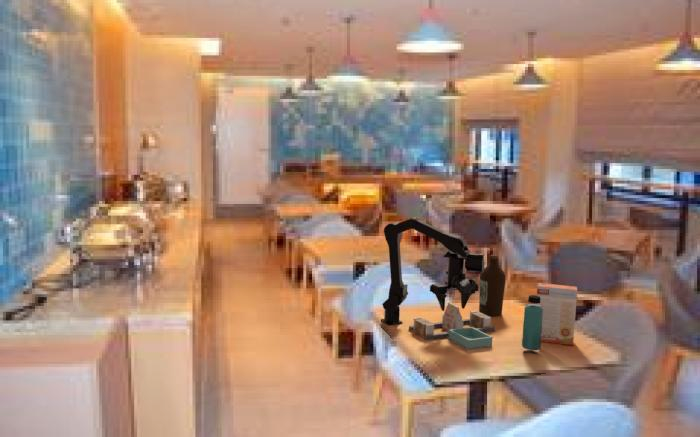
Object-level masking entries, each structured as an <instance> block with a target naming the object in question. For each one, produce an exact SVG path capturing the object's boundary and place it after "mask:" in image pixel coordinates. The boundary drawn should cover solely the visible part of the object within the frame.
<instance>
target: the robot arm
mask: <svg viewBox="0 0 700 437" xmlns="http://www.w3.org/2000/svg"><path fill="white" fill-rule="evenodd" d="M409 230H415V231H417V232H419V233H420V234H422V235H425V236H427V237H429V238H431V239H433V240H434V241H437V242H439V243H440V244H441V245H442V246H444V247H445V249H447V251H446V253H444V255H443V258H447V259H448V264H447V270H446V271H445V274H446V275H447V278H446V279H447V281H446V280H445V281H444V284H441V283H431V285H430V286H429V292H431V293H432V294H434V295H435V297H436V299H437V301H438V304H439V306H440V309H441V311H442V312H445V310H446V309H445V308H446V298H447V296H448V294H447V293H448V291H449V292H450V291H458V292H459V293H460V304H461V305H460V306H461V309H463V310H465V308H466V306H467V303H468V301H469V299H470V297H471V296H472V295H473V294H475V293H476V292H479V289H480V285H479V284H478V282H477V281H476V280H477V279H475V278H470V279H467V278H466V273H465V272H464V269H466V270H467V272H475V273H481V272H482V273H483V270H484V268H485V256H484V255H485V254H484V253H471V250H469V248H468V246H467V242H466V239H465V238H464V236H461V235H457V234H454V233H449V232H445V231H443V230H441V229H440V228H438V227H435V226H433V225H431V224H428V223H427V222H425V221H422V220H421V219H419V218H418V217H415V216H414V217H410V218H409V219H405V220H403V221H400V222H397V221H392V222H390V223H388V224H386V226H384V229H383V233H384V237H385V241H386V243H387V247H388V254H389V256H388V258H389V272H390V286H389V291H388V298H387V299H385V301H384V302H383V303H382V308H383V309H384V314H383V316H384V317H383V318H381V319H380V321H381V322H383V323H384V324H387V325H388V326H389V325H390V326H391V325H392V326H393V325H398V324H399V325H400V324H403V321H402V320H400V312H401V309H400V306H401V305H402V303H403V302H405V300H406V299H407V296H408V295H409V292H408V283H406V284H404V281H403V273H402V260H401V259H402V258H401V257H402V256H401V242H402V237H403V233H404V232H407V231H409ZM476 282H477V283H476Z"/></svg>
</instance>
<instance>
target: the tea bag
mask: <svg viewBox="0 0 700 437" xmlns="http://www.w3.org/2000/svg"><path fill="white" fill-rule="evenodd" d="M445 308H446V309H444V313H443V315H444V324H443V328H444V330H445V329H446V330H445V331H447V330H448V331H447V332H449V330H451V329H455V322H456V321H461V320H463V316H462V315H461V311H460V307H458V306H457V305H454V304H453V303H450V302H448V303H447V305H446V307H445ZM443 328H442V329H443Z"/></svg>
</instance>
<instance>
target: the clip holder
mask: <svg viewBox="0 0 700 437" xmlns="http://www.w3.org/2000/svg"><path fill="white" fill-rule="evenodd" d="M478 312H479V310H478V311H477V310H472V311H469V318H466V319H463V318H462V320H461V321H456V322H455V329H459V328H464V325H471V316H472V313H478ZM418 319H423V318H422V317H420V316H419V317H414V318H413V324H412V325H409V326H408V330H409V331H410V332H414V331H415V320H418ZM441 319H442V321H439V322H432V323H433V324H428V325H426V335H424V337H423V339H424V340H426V341H431V340H432V341H433V340H437V339H438V340H439V339H446V338H445V337H447V338H449V331H445V332H438V333H434V332H435V329H437V328H439V327H440V328H442V327H443V324H444V314H442V318H441ZM463 324H464V325H463ZM474 328H475V327H474ZM475 329H477V330H479V331H481V332H483V333H491V332H496V326H493V325H492V316H489V317H486V318H484V320H483V327H482V328H475Z"/></svg>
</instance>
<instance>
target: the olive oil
mask: <svg viewBox="0 0 700 437" xmlns="http://www.w3.org/2000/svg"><path fill="white" fill-rule="evenodd" d="M489 256H490V257H489V264H488V265H487V266H484V270H483V273H482V272H480V274H479V300H478V301H479V303H478V312H480V313H483V314H485V315H487V316H489V317H500V316H502V314H503V305H504V296H505V287H506V280H507V278H506V273H505V271H504V270H503V269H502V268H501V266H500V265H499V255H498V254H490V255H489Z"/></svg>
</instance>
